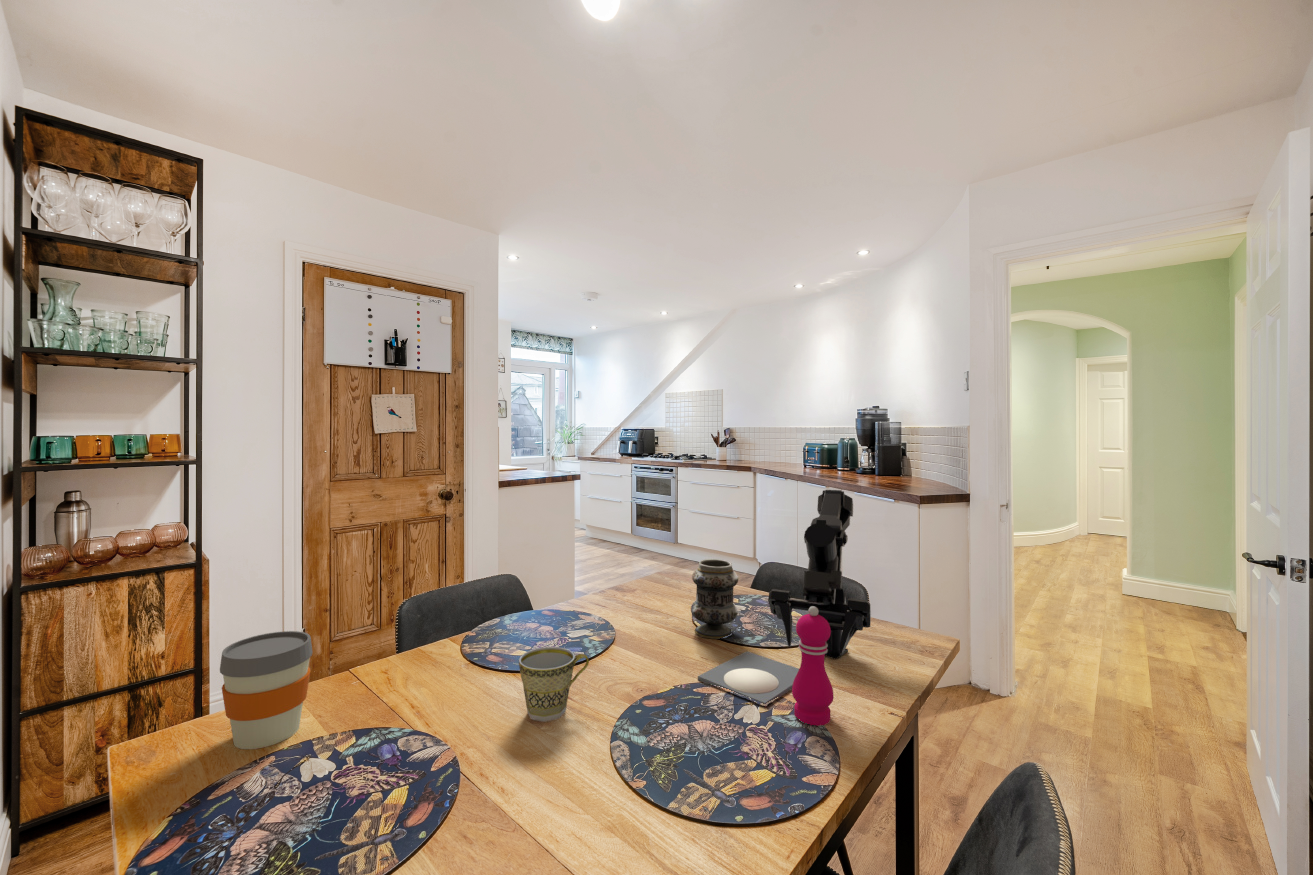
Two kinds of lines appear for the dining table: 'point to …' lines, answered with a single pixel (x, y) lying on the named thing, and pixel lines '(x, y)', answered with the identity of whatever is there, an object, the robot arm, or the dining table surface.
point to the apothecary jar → (714, 598)
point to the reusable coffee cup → (265, 686)
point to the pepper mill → (812, 671)
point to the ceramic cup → (548, 680)
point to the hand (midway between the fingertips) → (814, 649)
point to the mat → (753, 676)
